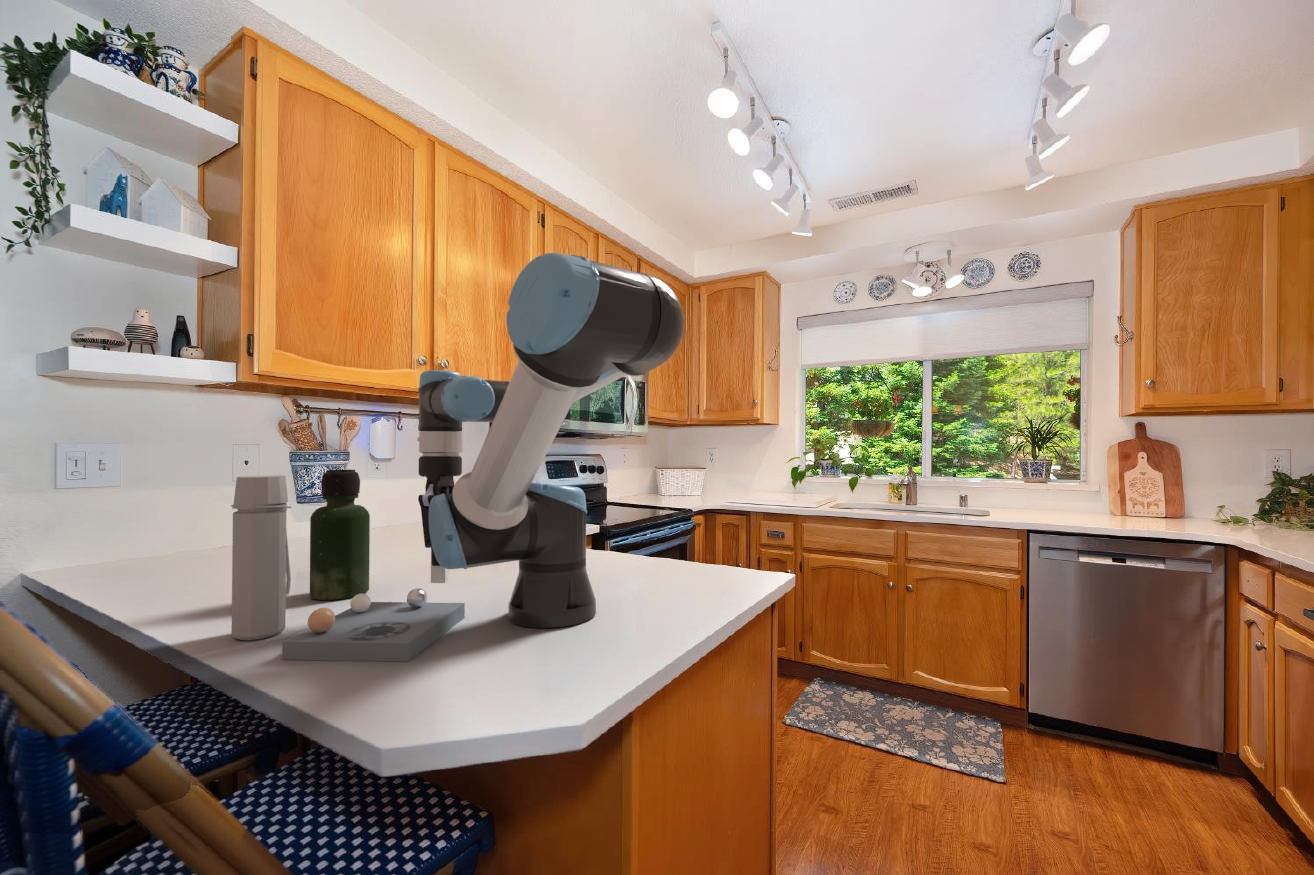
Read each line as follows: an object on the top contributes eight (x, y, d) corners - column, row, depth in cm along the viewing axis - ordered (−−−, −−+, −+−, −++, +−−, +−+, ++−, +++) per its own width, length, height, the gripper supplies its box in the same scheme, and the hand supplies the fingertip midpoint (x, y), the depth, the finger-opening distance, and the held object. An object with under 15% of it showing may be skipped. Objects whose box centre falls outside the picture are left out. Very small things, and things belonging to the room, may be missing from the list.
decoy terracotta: (340, 628, 84) (340, 605, 84) (325, 636, 80) (325, 611, 80) (317, 628, 84) (317, 604, 84) (301, 636, 80) (302, 611, 81)
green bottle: (344, 602, 107) (345, 471, 107) (296, 600, 109) (297, 471, 109) (380, 589, 117) (380, 469, 117) (335, 587, 119) (336, 468, 119)
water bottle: (259, 644, 84) (261, 477, 85) (216, 640, 86) (218, 477, 86) (308, 624, 93) (310, 474, 94) (269, 622, 95) (270, 474, 95)
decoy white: (374, 609, 94) (374, 591, 94) (364, 614, 91) (364, 596, 91) (357, 609, 94) (357, 591, 94) (346, 614, 91) (346, 596, 91)
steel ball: (430, 604, 96) (430, 586, 96) (421, 610, 93) (422, 590, 93) (412, 604, 96) (412, 586, 96) (403, 610, 93) (403, 590, 93)
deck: (464, 617, 97) (464, 602, 97) (408, 661, 77) (408, 643, 77) (363, 616, 98) (363, 601, 98) (282, 659, 78) (282, 641, 78)
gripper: (436, 454, 111) (435, 573, 111) (403, 455, 98) (402, 591, 98) (473, 454, 111) (472, 574, 110) (445, 455, 98) (444, 591, 97)
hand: (439, 581), depth 104 cm, fingers closed
